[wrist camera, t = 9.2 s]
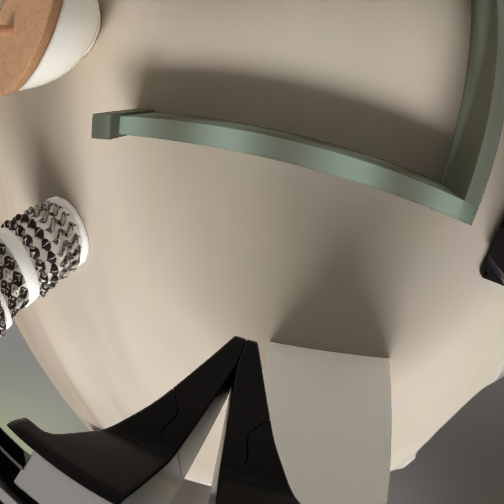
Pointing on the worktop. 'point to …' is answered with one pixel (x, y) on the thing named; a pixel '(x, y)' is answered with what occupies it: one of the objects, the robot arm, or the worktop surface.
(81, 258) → the decorative candle
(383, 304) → the worktop surface
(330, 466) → the milk
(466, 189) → the green shallow rectangular frame
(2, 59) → the lidded jar
